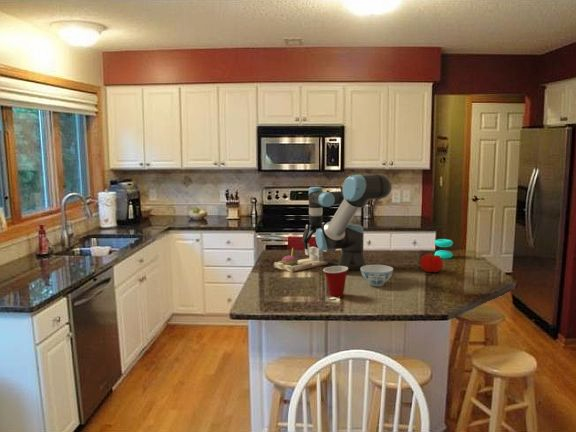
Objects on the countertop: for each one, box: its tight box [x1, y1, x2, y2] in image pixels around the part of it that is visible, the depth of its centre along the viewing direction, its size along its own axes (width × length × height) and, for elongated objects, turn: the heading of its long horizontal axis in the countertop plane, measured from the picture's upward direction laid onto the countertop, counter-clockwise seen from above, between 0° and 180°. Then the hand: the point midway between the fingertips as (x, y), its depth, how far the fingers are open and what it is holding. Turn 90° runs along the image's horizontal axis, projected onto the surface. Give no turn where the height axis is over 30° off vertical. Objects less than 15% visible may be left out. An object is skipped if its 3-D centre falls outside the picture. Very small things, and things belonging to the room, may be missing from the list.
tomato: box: [419, 253, 444, 273], centre depth 252 cm, size 11×11×9 cm
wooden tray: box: [273, 246, 329, 273], centre depth 269 cm, size 15×26×8 cm, turn 130°
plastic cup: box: [322, 265, 349, 298], centre depth 214 cm, size 11×11×12 cm
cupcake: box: [281, 247, 299, 266], centre depth 264 cm, size 9×8×12 cm
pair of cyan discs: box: [433, 238, 454, 260], centre depth 285 cm, size 10×10×10 cm
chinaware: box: [359, 264, 394, 287], centre depth 230 cm, size 15×15×8 cm
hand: (316, 253), depth 276 cm, fingers open, 13 cm apart
